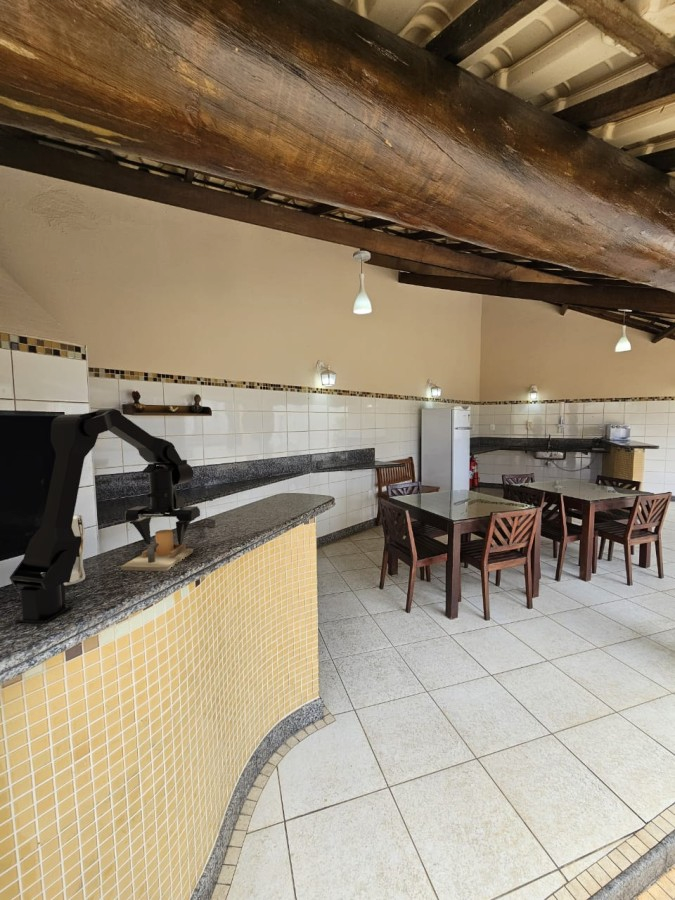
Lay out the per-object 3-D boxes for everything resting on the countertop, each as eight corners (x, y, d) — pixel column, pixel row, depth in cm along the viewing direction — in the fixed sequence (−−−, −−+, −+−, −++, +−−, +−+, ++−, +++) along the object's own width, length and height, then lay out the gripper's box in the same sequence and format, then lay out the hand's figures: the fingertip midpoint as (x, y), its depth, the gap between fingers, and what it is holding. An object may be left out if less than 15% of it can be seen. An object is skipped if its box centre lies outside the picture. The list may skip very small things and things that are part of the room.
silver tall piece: (69, 587, 89) (65, 522, 88) (44, 585, 90) (39, 521, 89) (94, 575, 96) (90, 514, 95) (70, 574, 97) (66, 514, 96)
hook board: (166, 570, 98) (165, 550, 97) (121, 570, 99) (120, 550, 99) (192, 552, 112) (192, 534, 111) (152, 551, 113) (151, 534, 113)
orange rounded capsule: (168, 556, 106) (167, 534, 105) (152, 555, 106) (151, 533, 106) (176, 550, 110) (175, 529, 110) (161, 550, 111) (160, 529, 110)
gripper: (207, 483, 114) (209, 536, 115) (146, 483, 116) (149, 535, 117) (189, 489, 103) (191, 548, 104) (121, 490, 105) (125, 547, 106)
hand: (164, 544), depth 108 cm, fingers open, 9 cm apart
